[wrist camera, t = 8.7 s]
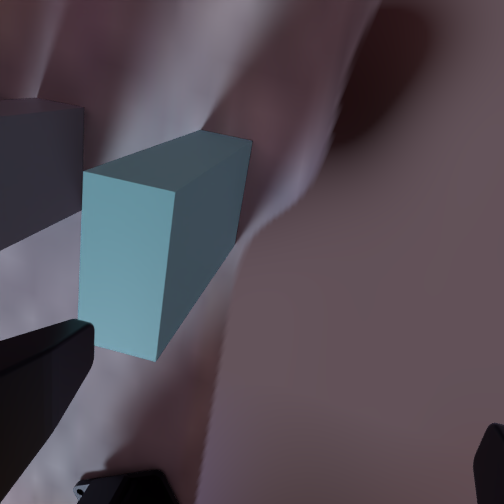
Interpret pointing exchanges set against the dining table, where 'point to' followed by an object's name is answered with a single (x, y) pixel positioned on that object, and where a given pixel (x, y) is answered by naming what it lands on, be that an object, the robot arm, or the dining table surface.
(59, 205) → the domino
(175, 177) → the domino
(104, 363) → the dining table surface
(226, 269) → the dining table surface
